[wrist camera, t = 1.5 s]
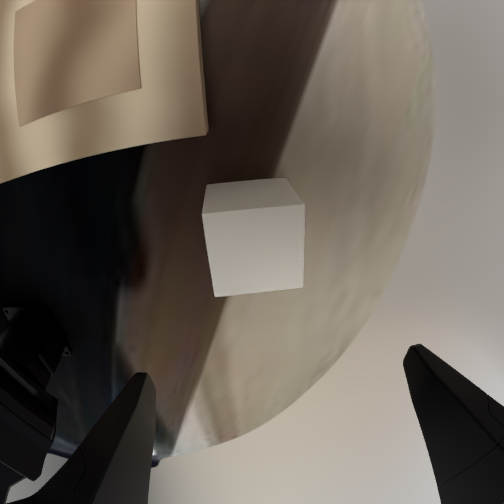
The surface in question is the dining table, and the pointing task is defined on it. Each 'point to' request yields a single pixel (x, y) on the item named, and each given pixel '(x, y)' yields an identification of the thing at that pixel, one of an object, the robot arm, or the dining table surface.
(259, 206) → the cream cube
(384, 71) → the dining table surface
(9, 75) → the oak base
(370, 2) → the dining table surface
